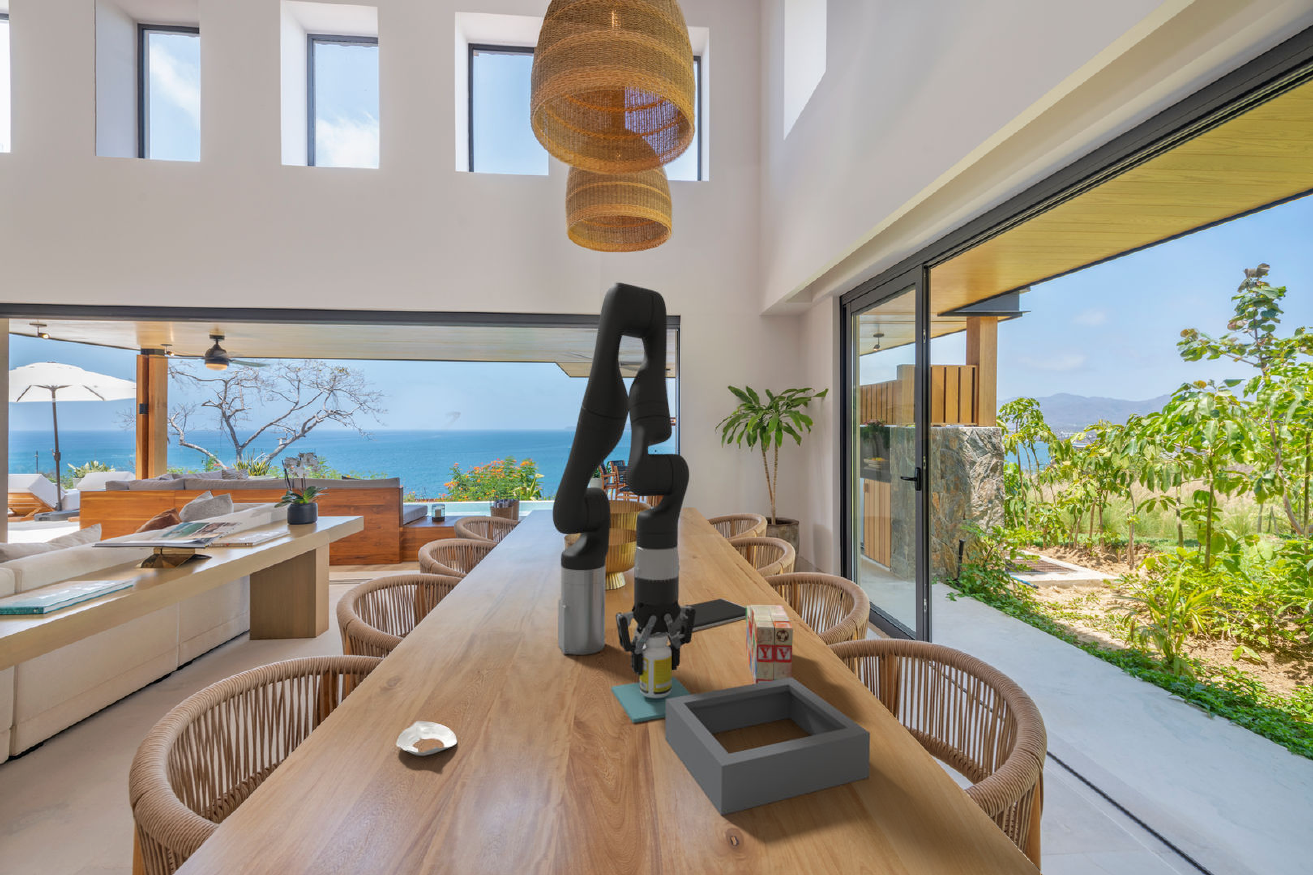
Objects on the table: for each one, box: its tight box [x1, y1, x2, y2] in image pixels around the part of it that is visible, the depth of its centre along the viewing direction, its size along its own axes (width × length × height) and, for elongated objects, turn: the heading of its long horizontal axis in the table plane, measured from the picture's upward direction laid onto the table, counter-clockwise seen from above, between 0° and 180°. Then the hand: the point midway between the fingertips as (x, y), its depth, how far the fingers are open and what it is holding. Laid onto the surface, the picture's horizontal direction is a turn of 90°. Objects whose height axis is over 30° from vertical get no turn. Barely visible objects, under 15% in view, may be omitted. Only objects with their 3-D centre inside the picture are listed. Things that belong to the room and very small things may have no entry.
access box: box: [664, 676, 871, 816], centre depth 82 cm, size 22×18×6 cm
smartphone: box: [673, 598, 746, 635], centre depth 141 cm, size 13×27×2 cm, turn 125°
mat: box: [610, 676, 692, 724], centre depth 99 cm, size 12×12×1 cm
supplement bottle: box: [639, 632, 673, 698], centre depth 99 cm, size 5×5×10 cm
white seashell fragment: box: [396, 720, 458, 757], centre depth 84 cm, size 8×12×2 cm, turn 34°
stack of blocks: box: [745, 604, 794, 684], centre depth 111 cm, size 21×6×12 cm, turn 176°
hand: (655, 670), depth 99 cm, fingers open, 5 cm apart
